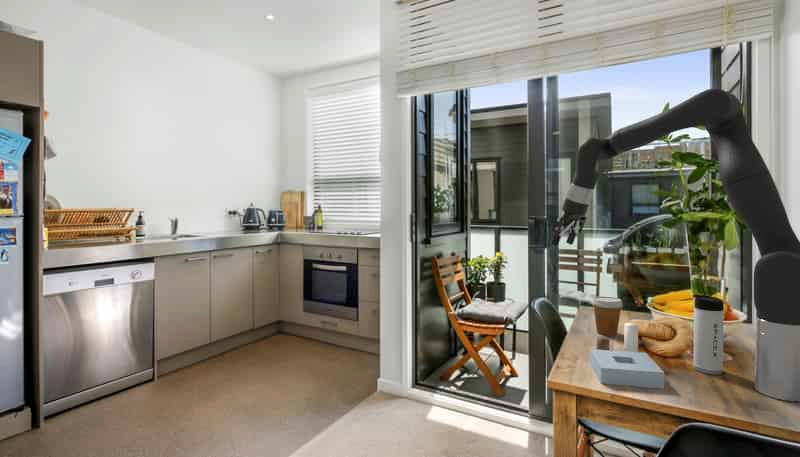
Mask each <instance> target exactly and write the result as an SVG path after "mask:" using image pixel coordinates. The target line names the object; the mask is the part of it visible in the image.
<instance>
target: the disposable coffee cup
mask: <svg viewBox="0 0 800 457" xmlns="http://www.w3.org/2000/svg"><path fill="white" fill-rule="evenodd" d="M591 303H592V305H593V312H594V313H593V314H594V318H595V319H594V320H595V326H596V327H595V328H596V333H597V334H599V335H602V336H605V337H606V336H608V337H610V336H611V337H612V336H617V335H618V330H619V323H620V317H621V311H622V307H623V302H622V299H620V298H617V297H613V296H595V297H593V299H592V301H591Z"/></svg>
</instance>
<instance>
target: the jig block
mask: <svg viewBox="0 0 800 457" xmlns="http://www.w3.org/2000/svg"><path fill="white" fill-rule="evenodd" d="M589 363H590V365H591V368H592V370H593V371H594V374H595V375H596V378H597V379H598V380H599V383H600V384H602V385H613V386H625V387H626V386H628V387H638V388H650V389H651V388H652V389H660V390H661V389H662V390H665V371H664V370H663V369H662V368H661V367H660V366H659V364H657V363H656V362H655V361H654V360H653V359H652V358H651V357H650V356H649V355H648V354H647V352H641V351H640V352H639V351H638V352H626V351H624V350H622V351H621V350H610V349H609V350H597V349H594V348H593V349H592V348H590V349H589Z"/></svg>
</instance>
